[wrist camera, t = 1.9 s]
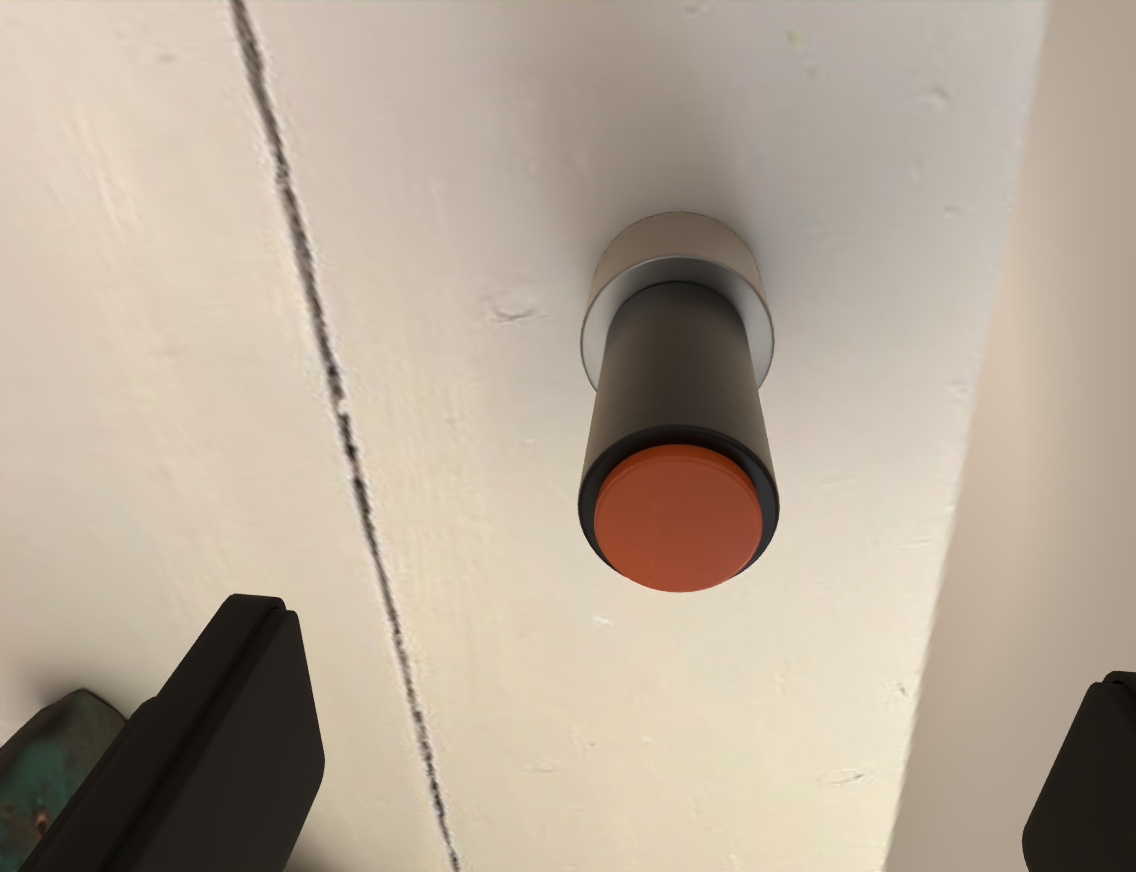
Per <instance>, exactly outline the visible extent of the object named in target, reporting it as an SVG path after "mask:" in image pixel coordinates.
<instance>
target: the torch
mask: <svg viewBox="0 0 1136 872" xmlns="http://www.w3.org/2000/svg"><path fill="white" fill-rule="evenodd" d="M774 343H775V338H774V327H773V323H772V318H771V314H770V311H769V307H768V303H767V300H766V296H765V293H764V289H763V285H762V282H761V278H760V275H759V271H758V268H757V265H756V262H755V260H754V258H753V256H752V254H751V252H750V250H749V249H748V247H747V246H746V245H745V243H744V242H743V241H742V240H741V239H740V238H739V237H738V236H737V235H736V234H735V233H734V232H733V231H732V230H730V229H729V228H728V227H727V226H725V225H723V224H721V223H720V222H718V221H716V220H714V219H711V218H709V217H706V216H702V215H698V214H694V213H685V212H671V213H664V214H659V215H655V216H652V217H648V218H646V219H644V220H641V221H639V222H637V223H635V224H634V225H632V226H630V227H629V228H627V229H626V230H625V231H623V232H622V233H621V234H620V235H619V236H618V237H617V238H616V239H615V240H614V241H613V242H612V243H611V244H610V246H609V247H608V248H607V250H606V251H605V253H604V254H603V256H602V258H601V260H600V262H599V264H598V267H597V269H596V273H595V277H594V281H593V285H592V289H591V293H590V296H589V300H588V304H587V308H586V312H585V316H584V320H583V325H582V329H581V337H580V350H581V358H582V363H583V366H584V369H585V372H586V375H587V377H588V379H589V381H590V383H591V385H592V387H593V388H594V390H595V391H596V392H597V393H596V399H595V404H594V410H593V416H592V421H591V427H590V432H589V438H588V444H587V449H586V455H585V460H584V466H583V472H582V477H581V483H580V488H579V495H578V516H579V521H580V525H581V528H582V530H583V533H584V535H585V537H586V539H587V541H588V542H589V544H590V546H591V547H592V549H593V550H594V551H595V553H596V554H597V555H598V556H599V557H600V558H601V559H602V560H603V561H604V562H605V563H606V564H607V565H608V566H610V567H611V568H612V569H613V570H615V571H617V572H618V573H620V574H621V575H623V576H625V577H627V578H629V579H630V580H632V581H634V582H636V583H638V584H640V585H643V586H646V587H648V588H652V589H656V590H660V591H667V592H693V591H699V590H703V589H707V588H711V587H713V586H716V585H718V584H721V583H723V582H725V581H726V580H728V579H730V578H732V577H734V576H736V575H738V574H740V573H741V572H743V571H744V570H745V569H747V568H748V567H749V566H751V565H752V564H753V563H754V562H755V561H756V560H757V559H758V558H759V557H760V556H761V554H762V553H763V552H764V551H765V549H766V548H767V546H768V545H769V543H770V541H771V540H772V537H773V535H774V533H775V531H776V527H777V524H778V520H779V511H780V504H779V494H778V489H777V484H776V479H775V474H774V469H773V464H772V459H771V454H770V449H769V444H768V439H767V434H766V429H765V424H764V419H763V414H762V409H761V404H760V399H759V394H758V389H759V388H760V387H761V385H762V383H763V381H764V380H765V378H766V376H767V374H768V371H769V368H770V366H771V362H772V358H773V354H774Z"/></svg>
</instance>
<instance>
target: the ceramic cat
mask: <svg viewBox="0 0 1136 872" xmlns="http://www.w3.org/2000/svg"><path fill="white" fill-rule="evenodd" d="M125 724H126V722H125V720H124V719H123V717H122V716H121V715H120V714H119V713H118V712H116V711H115V710H113V709H112V708H110V707H108V706H107V705H105V704H104V703H103V702H101V701H100V700H99V699H97V698H96V697H94V696H92V695H90V694H89V693H87V692H85V691H78V692H75V693H72V694H70V695H68V696H66V697H65V698H63V699H61V700H60V701H59V702H57V703H56V704H54V705H51V706H48V707H46V708H43V709H41V710H40V711H39V712H38V713H37V714H35V715H34V716H33V717H32V718H31V719H30V720H29V721H28V722H27V723H26V724H25V725H24V726H23V727H21V728H20V729H19V730H18V731H17V732H16V733H15V734H14V735H13V736H12V737H11V738H10V739H9V740H8V741H7V742H6V743H5V744H4V745H3V746H2V747H1V748H0V872H17V871H18V870H19V869H20V867H21V866H22V864H23V863H24V862H25V860H26V859H27V858H28V856H29V855H30V854H31V852H32V851H33V849H34V848H35V847H36V845H37V844H38V843H39V841H40V840H41V839H42V837H43V836H44V834H45V833H46V832H47V830H48V829H49V828H50V826H51V825H52V823H53V822H54V821H55V819H56V818H57V817H58V815H59V814H60V813H61V811H62V810H63V808H64V807H65V806H66V804H67V803H68V802H69V800H70V799H71V798H72V796H73V795H74V793H75V792H76V791H77V789H78V788H79V787H80V785H81V784H82V782H83V781H84V780H85V778H86V777H87V776H88V774H89V773H90V772H91V770H92V769H93V767H94V766H95V765H96V763H97V762H98V761H99V759H100V758H101V757H102V755H103V754H104V752H105V751H106V750H107V748H108V747H109V746H110V744H111V743H112V741H113V740H114V739H115V737H116V736H117V735H118V733H119V732H120V731H121V729H122V728H123V726H124V725H125Z"/></svg>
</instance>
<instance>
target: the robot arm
mask: <svg viewBox="0 0 1136 872" xmlns="http://www.w3.org/2000/svg"><path fill="white" fill-rule="evenodd" d="M324 766H325V756H324V750H323V745H322V740H321V734H320V729H319V724H318V719H317V713H316V708H315V703H314V697H313V692H312V687H311V682H310V676H309V671H308V666H307V661H306V655H305V650H304V645H303V640H302V634H301V629H300V624H299V619H298V616H297V613H296V612H295V611H292V610H286V607H285V604H284V601H283V600H282V599H281V598H278V597H269V596H258V595H246V594H233V595H230V596H229V597H228V598H227V599H226V600H225V601H224V602H223V604H222V605H221V607H220V608H219V609H218V611H217V612H216V614H215V615H214V616H213V618H212V619H211V621H210V622H209V623H208V625H207V626H206V628H205V629H204V630H203V632H202V633H201V635H200V636H199V637H198V639H197V640H196V642H195V643H194V644H193V646H192V647H191V649H190V650H189V651H188V653H187V654H186V656H185V657H184V658H183V660H182V661H181V662H180V664H179V665H178V667H177V668H176V669H175V671H174V672H173V674H172V675H171V676H170V678H169V679H168V681H167V682H166V683H165V685H164V686H163V688H162V689H161V690H160V692H159V693H158V695H157V696H156V697H152V698H150V699H149V700H147V701H145V702H144V703H142V704H141V705H140V707H139V708H138V709H137V710H136V711H135V712H134V713H133V714H132V716H131V717H130V718H129V720H128V721H127V722H126V724H125V725H124V726H123V728H122V729H121V731H120V732H119V733H118V735H117V736H116V737H115V739H114V740H113V741H112V743H111V744H110V746H109V747H108V748H107V750H106V751H105V752H104V754H103V755H102V757H101V758H100V759H99V761H98V762H97V763H96V765H95V766H94V767H93V769H92V770H91V772H90V773H89V774H88V776H87V777H86V778H85V780H84V781H83V782H82V784H81V785H80V787H79V788H78V789H77V791H76V792H75V793H74V795H73V796H72V798H71V799H70V800H69V802H68V803H67V804H66V806H65V807H64V808H63V810H62V811H61V813H60V814H59V815H58V817H57V818H56V819H55V821H54V822H53V823H52V825H51V826H50V828H49V829H48V830H47V832H46V833H45V834H44V836H43V837H42V839H41V840H40V841H39V843H38V844H37V845H36V847H35V848H34V849H33V851H32V852H31V854H30V855H29V856H28V858H27V859H26V860H25V862H24V863H23V864H22V866H21V867H20V869H19V870H18V871H17V872H283V871H284V868H285V866H286V864H287V861H288V859H289V857H290V854H291V852H292V850H293V848H294V845H295V843H296V841H297V838H298V836H299V834H300V831H301V829H302V827H303V824H304V822H305V820H306V818H307V815H308V813H309V811H310V808H311V806H312V804H313V801H314V799H315V797H316V794H317V792H318V790H319V787H320V784H321V782H322V778H323V773H324ZM1022 847H1023V854H1024V859H1025V861H1026V865H1027V867H1028V870H1029V872H1136V672H1125V671H1112V672H1111V673H1109V674H1107V675H1106V677H1105V678H1104V680H1103V681H1102V683H1101V682H1095V683H1093V684H1092V685H1091V686H1090V687H1089V689H1088V690H1087V692H1086V695H1085V697H1084V699H1083V701H1082V703H1081V706H1080V708H1079V710H1078V712H1077V714H1076V716H1075V718H1074V721H1073V723H1072V725H1071V728H1070V729H1069V732H1068V734H1067V736H1066V738H1065V740H1064V743H1063V745H1062V747H1061V749H1060V751H1059V753H1058V755H1057V758H1056V760H1055V762H1054V764H1053V767H1052V769H1051V771H1050V773H1049V775H1048V777H1047V779H1046V782H1045V784H1044V786H1043V788H1042V790H1041V793H1040V795H1039V797H1038V799H1037V801H1036V803H1035V806H1034V808H1033V810H1032V812H1031V814H1030V816H1029V819H1028V821H1027V823H1026V825H1025V827H1024V831H1023V837H1022Z"/></svg>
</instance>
